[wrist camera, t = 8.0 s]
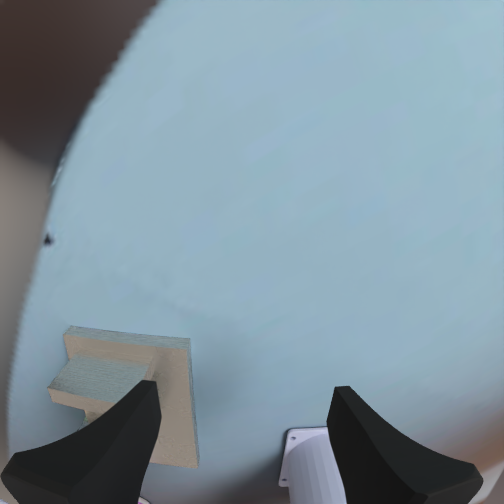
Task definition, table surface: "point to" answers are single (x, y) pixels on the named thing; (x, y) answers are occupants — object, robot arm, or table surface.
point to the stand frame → (132, 383)
